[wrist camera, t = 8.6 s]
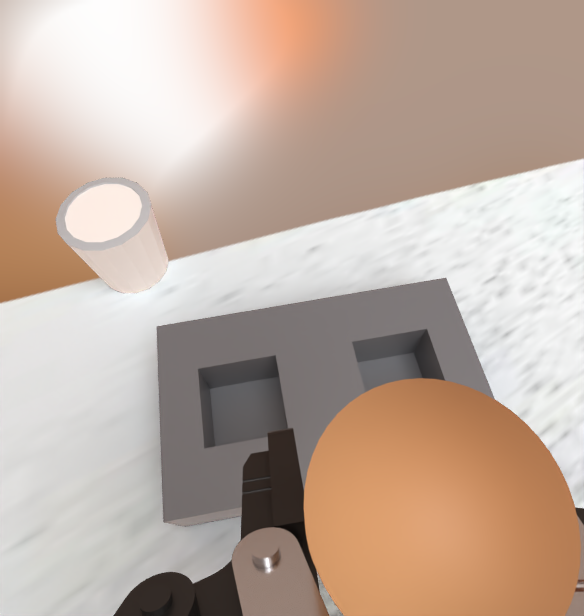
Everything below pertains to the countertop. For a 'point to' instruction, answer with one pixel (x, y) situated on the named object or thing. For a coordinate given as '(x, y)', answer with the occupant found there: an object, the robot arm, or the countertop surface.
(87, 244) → the shot glass
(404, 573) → the peg
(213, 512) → the hole block
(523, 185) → the countertop surface
